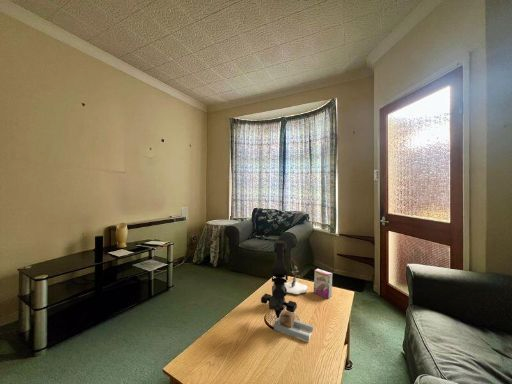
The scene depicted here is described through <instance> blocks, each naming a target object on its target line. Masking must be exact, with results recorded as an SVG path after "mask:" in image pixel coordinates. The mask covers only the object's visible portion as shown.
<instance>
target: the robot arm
mask: <svg viewBox="0 0 512 384" xmlns="http://www.w3.org/2000/svg"><path fill="white" fill-rule="evenodd" d="M287 247H288V243H287V242H286V241H284V240H283V241H282V240H275V242H273V247H272V248H273V249H274V253H275V254H276V255H275V257H276V258H275V262H274V263H273V267H272V270H271V283H272V282H273V284H272V286H271V293H269V294H268V293H266V292H265V293H264V294H263V295H262V296H261V298H260V303H262V304H264V305H266V304H267V303H268V308H269V310H273V311H274V312H275V315H276V319H278V318H279V316H280V315H281V313H282V312H283V310H285V311H288V312H291V313H295V311H296V309H297V308H298V303H297V302H296V301H292V300H288V301H286V297H287V295H288V292H287V289H286V287H285V283H287V281H289V280H288V278H289V276H288V275H289V274H288V272H289V271H288V269H287V268H286V263H285V262H284V255H285V253H286V250H287Z"/></svg>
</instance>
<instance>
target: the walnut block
mask: <svg viewBox="0 0 512 384" xmlns="http://www.w3.org/2000/svg"><path fill="white" fill-rule="evenodd" d="M294 320H295V312H293V313H292V312H289V311H287V310H286V309H284V310H282V312H281V314H280V324H281V325H284V326H286V327H289V328H291V329H293V327H294Z"/></svg>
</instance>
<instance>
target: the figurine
mask: <svg viewBox="0 0 512 384" xmlns="http://www.w3.org/2000/svg"><path fill="white" fill-rule="evenodd" d="M293 269H295V271H294V270H291V275H294V277H293V278H292V281H290V282H287V283H285V287H286V289H287V294H288V293H289V294H294V295H300V294H304V293H307V292H308V291H307V290H308V289H309V287H308V286H307V285H306V284H303V283H301V282H299V281H297V279H296V277H299V278H300V277H301V276H300V275H297V273H299V271H300V269H299V270H298V267H297V266H296V265H294V268H293Z"/></svg>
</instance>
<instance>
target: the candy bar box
mask: <svg viewBox="0 0 512 384" xmlns="http://www.w3.org/2000/svg"><path fill="white" fill-rule="evenodd" d="M313 273H314V275H313V276H314V277H313V293H314V294H316V295H318V296H320V297H323V298H324V299H330V298H331V297H332V294H333V293H332V292H333V290H332V288H333V272H329V271H326V270H323V269H320V268H316V269H314V272H313Z"/></svg>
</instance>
